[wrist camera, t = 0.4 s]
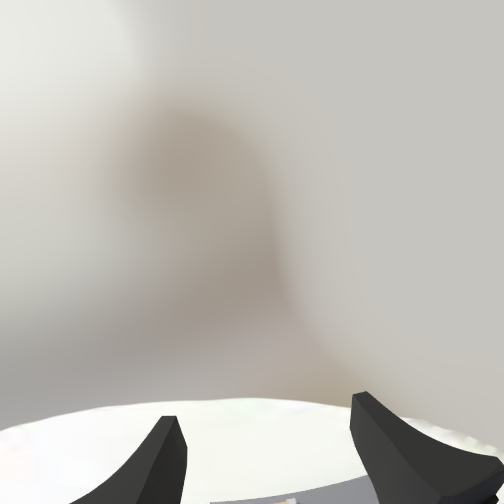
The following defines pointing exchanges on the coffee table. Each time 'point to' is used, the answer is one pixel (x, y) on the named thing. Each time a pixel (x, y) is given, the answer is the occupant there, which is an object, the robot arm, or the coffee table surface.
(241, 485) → the coffee table surface
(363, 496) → the panel
